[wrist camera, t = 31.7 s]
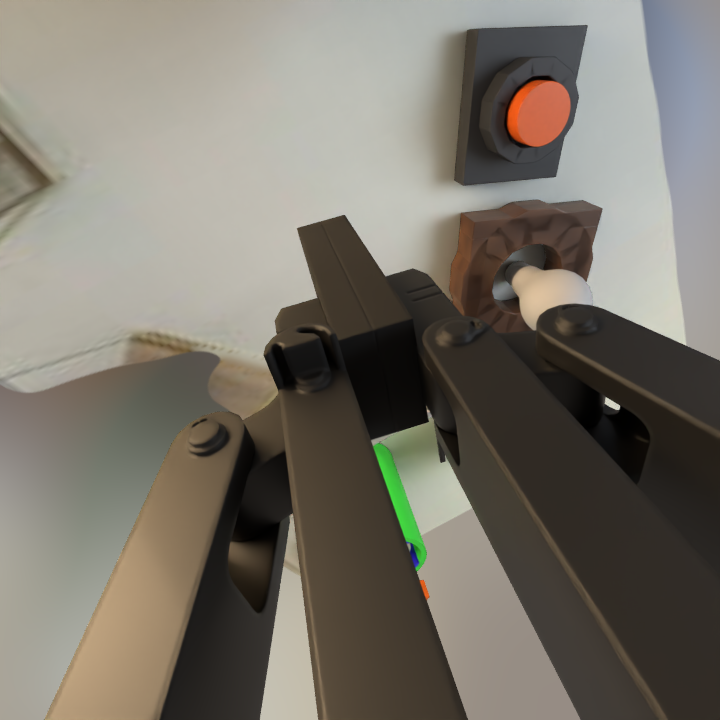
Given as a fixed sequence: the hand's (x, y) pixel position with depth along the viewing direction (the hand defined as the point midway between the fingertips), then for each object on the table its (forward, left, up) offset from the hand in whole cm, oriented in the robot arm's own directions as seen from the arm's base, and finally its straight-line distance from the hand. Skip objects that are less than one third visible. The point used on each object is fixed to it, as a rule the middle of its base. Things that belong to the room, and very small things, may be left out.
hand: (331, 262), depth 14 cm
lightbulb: (+14, +23, -27) cm, 38 cm away
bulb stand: (+14, +23, -26) cm, 38 cm away
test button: (-1, +20, -23) cm, 30 cm away
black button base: (-1, +20, -26) cm, 33 cm away
